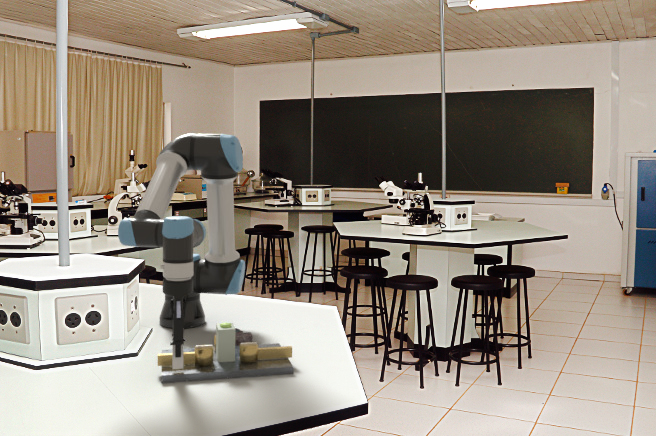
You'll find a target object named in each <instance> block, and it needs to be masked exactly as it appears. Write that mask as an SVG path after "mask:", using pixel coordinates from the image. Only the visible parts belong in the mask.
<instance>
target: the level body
mask: <svg viewBox="0 0 656 436" xmlns="http://www.w3.org/2000/svg"><path fill="white" fill-rule="evenodd" d="M215 327H216V328H215V332H216V357H217V361H218V362H231V361H235V328H236V326H235V324H234V323H233V322H221V323H216V324H215Z"/></svg>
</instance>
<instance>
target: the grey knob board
mask: <svg viewBox="0 0 656 436" xmlns="http://www.w3.org/2000/svg"><path fill="white" fill-rule="evenodd" d="M213 347H214V362H213V363H212V364H210V365H197V364H183V369H172V365H166V366H161V384H169V383H181V382H197V381H208V380H209V381H210V380H225V379H227V380H228V379H239V378H252V377H253V378H255V377H264V376H265V377H268V376H280V375H282V376H283V375H293V374H294V365H293V364H292V362H291V359H289V358H275V359H260V360H257V361H255V362H242V361H240V360H239V353H240V346H235V361H231V362H218V361H217V357H216V335H215V334H214V336H213ZM267 347H282V345H281V344H280V343H276V342H275V343H264V344H262V343H260V344H258V348H267ZM160 352H161V353H160V354H165V353H172V348H171V349H161V351H160ZM183 352H195V347H193V348H190V347H189V348H183Z"/></svg>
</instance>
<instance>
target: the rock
mask: <svg viewBox="0 0 656 436" xmlns="http://www.w3.org/2000/svg"><path fill="white" fill-rule="evenodd" d="M215 335H216V331H215V333H214V336H215ZM246 342H253V334H252V332H245V331H244V330H241V329H239V328H237V327H235V346H240V344H241V343H246Z"/></svg>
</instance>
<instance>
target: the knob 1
mask: <svg viewBox="0 0 656 436" xmlns="http://www.w3.org/2000/svg"><path fill="white" fill-rule="evenodd" d="M194 348H195V352H183V364H197V365H210V364H212V363H213V362H214V344H200V345H199V344H198V345H197V344H196V345H195V346H194ZM166 365H172V353H165V354H161V353H157V367H162V366H166Z"/></svg>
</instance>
